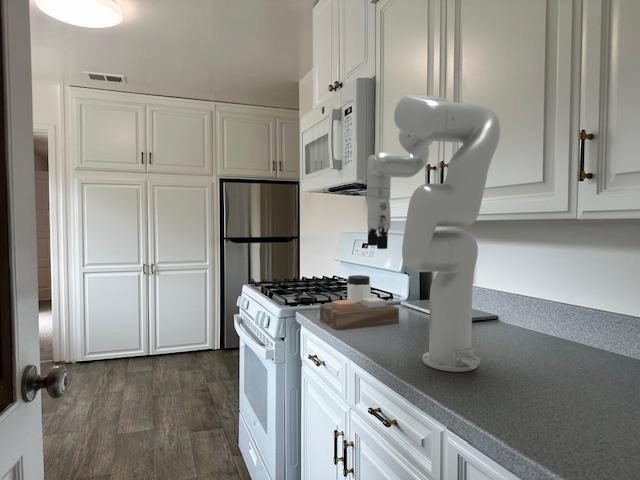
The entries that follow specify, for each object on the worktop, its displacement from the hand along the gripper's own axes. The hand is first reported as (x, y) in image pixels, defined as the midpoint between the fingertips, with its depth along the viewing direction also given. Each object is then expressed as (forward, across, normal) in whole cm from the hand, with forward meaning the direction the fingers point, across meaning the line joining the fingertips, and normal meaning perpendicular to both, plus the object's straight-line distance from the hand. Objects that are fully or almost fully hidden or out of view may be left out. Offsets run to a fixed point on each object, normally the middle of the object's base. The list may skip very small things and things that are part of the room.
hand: (377, 247), depth 138 cm
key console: (+25, +2, +5) cm, 26 cm away
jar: (+26, +22, -1) cm, 34 cm away
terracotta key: (+22, +1, +10) cm, 24 cm away
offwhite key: (+22, +3, 0) cm, 22 cm away
